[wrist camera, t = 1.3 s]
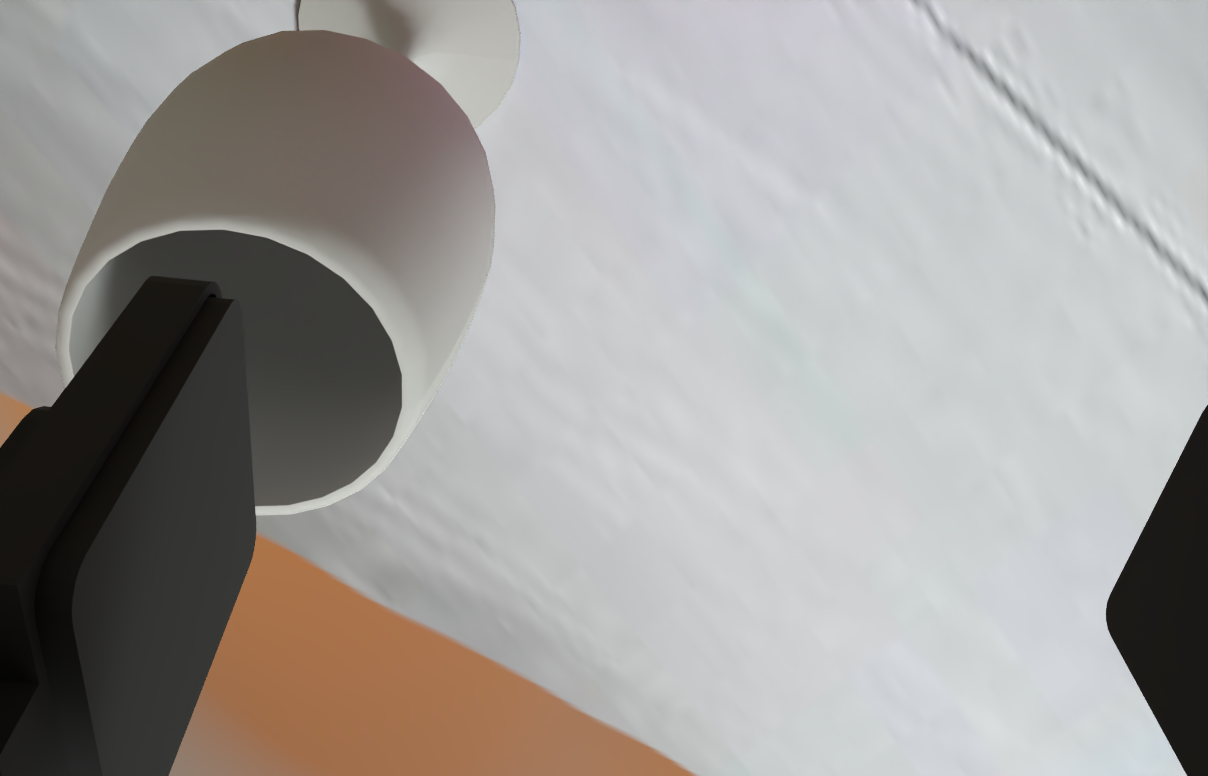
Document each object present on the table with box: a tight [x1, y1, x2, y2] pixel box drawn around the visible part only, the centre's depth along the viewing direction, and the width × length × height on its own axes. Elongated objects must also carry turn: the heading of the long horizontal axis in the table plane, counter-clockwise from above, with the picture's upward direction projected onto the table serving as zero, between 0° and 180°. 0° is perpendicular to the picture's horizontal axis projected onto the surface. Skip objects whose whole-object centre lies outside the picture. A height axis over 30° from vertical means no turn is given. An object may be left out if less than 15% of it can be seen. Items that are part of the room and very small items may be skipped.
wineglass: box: [55, 0, 520, 515], centre depth 27 cm, size 8×8×21 cm
